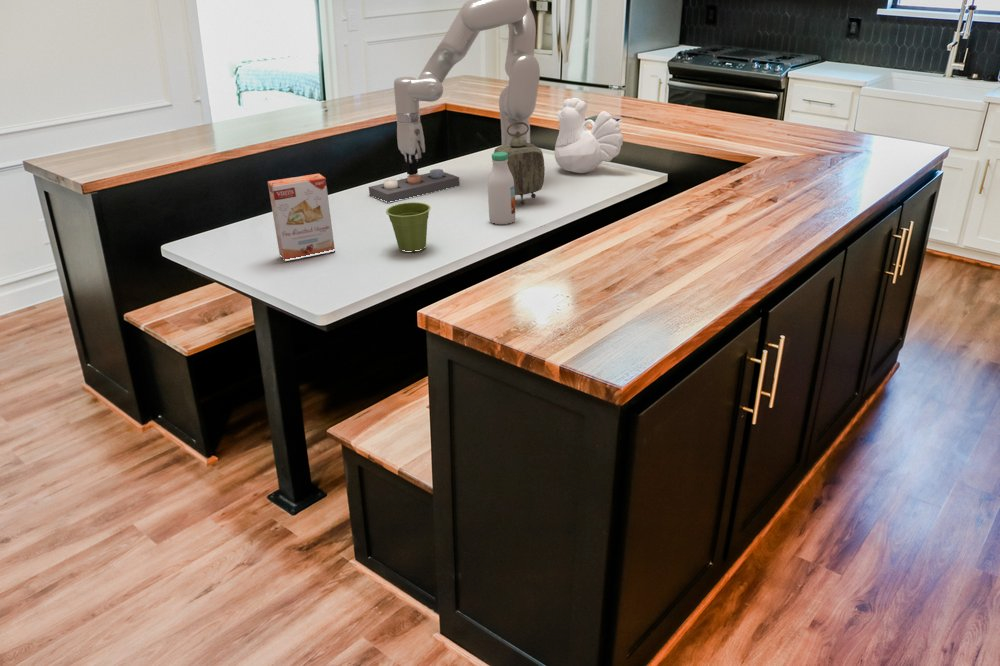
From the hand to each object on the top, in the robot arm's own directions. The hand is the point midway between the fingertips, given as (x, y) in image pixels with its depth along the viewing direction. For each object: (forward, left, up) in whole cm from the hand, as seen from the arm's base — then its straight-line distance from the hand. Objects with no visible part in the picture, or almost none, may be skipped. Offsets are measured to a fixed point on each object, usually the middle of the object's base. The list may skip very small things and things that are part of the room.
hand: (412, 173), depth 261 cm
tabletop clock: (-36, -16, -6) cm, 40 cm away
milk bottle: (-46, -1, -6) cm, 47 cm away
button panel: (0, 0, -6) cm, 6 cm away
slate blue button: (0, -9, -4) cm, 10 cm away
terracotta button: (0, 0, -4) cm, 4 cm away
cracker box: (-31, +54, -6) cm, 62 cm away
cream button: (0, +9, -4) cm, 9 cm away
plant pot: (-47, +31, -6) cm, 57 cm away
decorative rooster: (-25, -55, -6) cm, 61 cm away
